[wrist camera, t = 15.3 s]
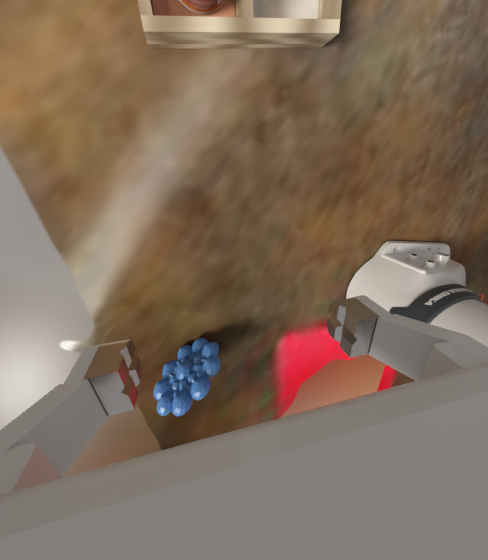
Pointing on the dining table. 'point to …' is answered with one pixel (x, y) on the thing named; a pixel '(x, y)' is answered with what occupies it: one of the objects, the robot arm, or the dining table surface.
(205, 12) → the pill bottle
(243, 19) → the tray
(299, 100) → the dining table surface
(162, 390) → the grapes
